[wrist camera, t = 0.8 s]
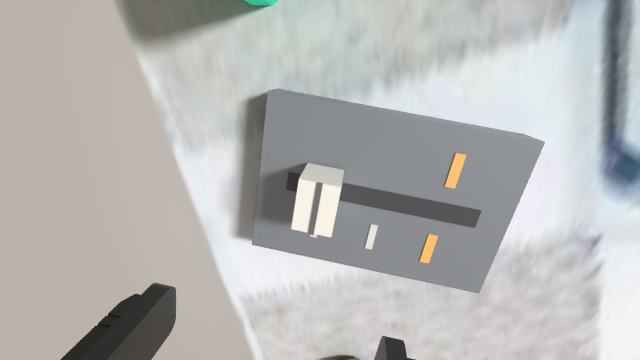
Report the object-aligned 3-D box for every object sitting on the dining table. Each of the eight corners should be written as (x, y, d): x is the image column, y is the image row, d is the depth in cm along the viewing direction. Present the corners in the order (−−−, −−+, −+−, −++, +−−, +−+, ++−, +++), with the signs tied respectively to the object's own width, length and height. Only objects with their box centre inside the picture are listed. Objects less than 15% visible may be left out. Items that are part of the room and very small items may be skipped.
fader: (308, 162, 25) (298, 178, 21) (344, 169, 24) (341, 187, 21) (300, 207, 26) (290, 230, 22) (334, 214, 26) (330, 238, 22)
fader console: (277, 88, 26) (267, 90, 23) (524, 134, 25) (545, 142, 22) (261, 229, 31) (251, 245, 28) (467, 272, 30) (479, 294, 27)
